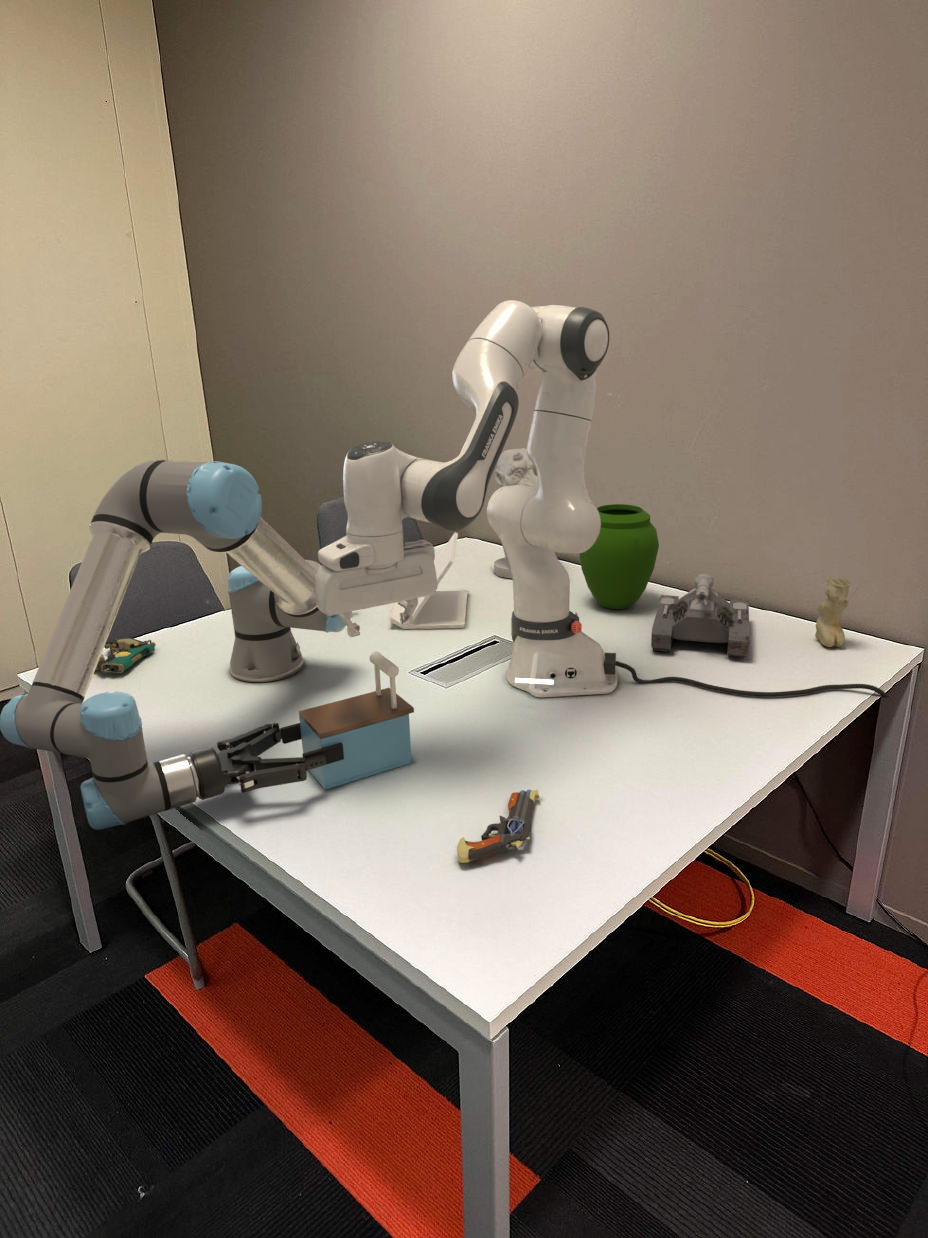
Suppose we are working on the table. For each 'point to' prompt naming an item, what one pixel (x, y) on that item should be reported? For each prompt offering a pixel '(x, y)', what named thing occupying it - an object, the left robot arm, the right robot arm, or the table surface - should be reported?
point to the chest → (361, 750)
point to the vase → (620, 556)
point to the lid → (360, 705)
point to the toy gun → (503, 829)
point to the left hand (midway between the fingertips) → (330, 738)
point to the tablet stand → (437, 600)
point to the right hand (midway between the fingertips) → (380, 629)
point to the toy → (702, 619)
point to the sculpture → (832, 613)
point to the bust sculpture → (510, 472)
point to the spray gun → (124, 654)
